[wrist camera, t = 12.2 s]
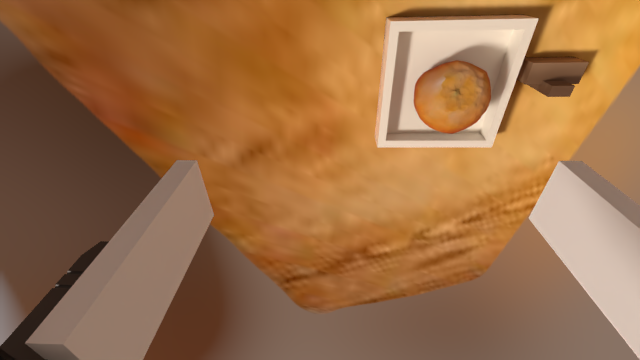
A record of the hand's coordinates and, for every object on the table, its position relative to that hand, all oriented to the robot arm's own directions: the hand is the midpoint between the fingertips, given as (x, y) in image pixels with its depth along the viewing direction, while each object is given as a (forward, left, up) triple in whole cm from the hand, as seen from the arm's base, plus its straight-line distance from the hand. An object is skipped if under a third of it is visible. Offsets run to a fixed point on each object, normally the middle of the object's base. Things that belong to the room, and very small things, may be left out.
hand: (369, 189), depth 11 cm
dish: (+5, +12, -29) cm, 32 cm away
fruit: (+5, +12, -28) cm, 31 cm away
